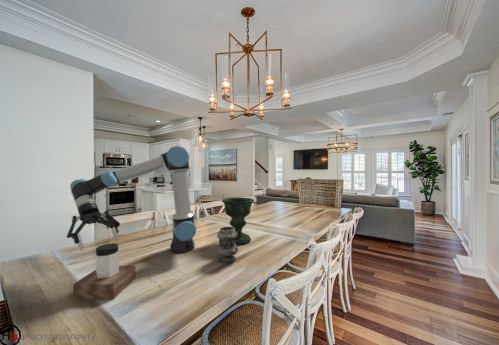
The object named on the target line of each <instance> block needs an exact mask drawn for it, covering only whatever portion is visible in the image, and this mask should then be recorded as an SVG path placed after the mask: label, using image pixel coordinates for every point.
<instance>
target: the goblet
mask: <svg viewBox="0 0 499 345" xmlns="http://www.w3.org/2000/svg"><path fill="white" fill-rule="evenodd" d="M221 202H222V203H223V205H224V207H225V214H226V215H227V216H228V217H230V218H231V220H230V221H229V225H230V227H234V228H235V231H236V232H237V233H238V236H237V238H236V246H241V245H246V244H249V243H250V242H251V241H252V238H251V236H250V235H249V234H247V233H245V232H243V228H244V227H245V226H246V225H247V221H246V219H245V218H246V217H247V216H249V215H250V214H251V207H252V205H253V203H254V202H255V200H254V198H251V197H240V196H239V197H238V196H237V197H236V196H235V197H228V198H223V199H222V200H221Z"/></svg>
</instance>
